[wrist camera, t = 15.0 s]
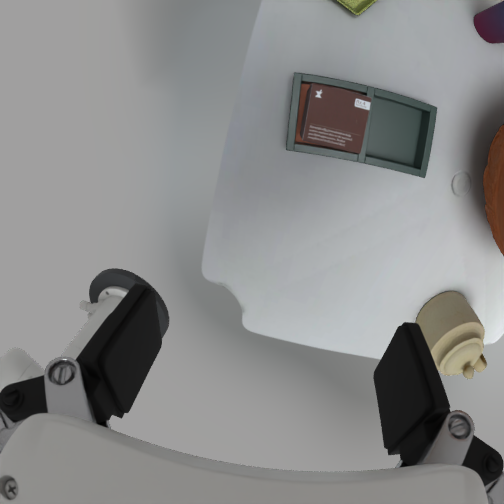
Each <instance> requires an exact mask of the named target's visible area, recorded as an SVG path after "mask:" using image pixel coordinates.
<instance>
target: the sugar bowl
mask: <svg viewBox="0 0 504 504" xmlns="http://www.w3.org/2000/svg"><path fill="white" fill-rule="evenodd" d="M416 323H418V324H419V326H420V328H421V330H422V333H423V335H424V337H425V340H426V342H427V344H428V347H429V349H430V352H431V354H432V357H433V359H434V362H435V365H436V367H437V370H440V372H441V373H442V374H444V375H458V374H461V373H463V375H464V377H465V378H467V379H471V378H472V377H473V374H474V369H475V370H476V371H477V372H482V371H483V370H484V369H485V368H486V366H487V363H486V360H485V358H484V356H483V354H482V351H483V348H484V344H483V339H484V334H485V331H484V327H483V325H482V324H481V322H480V320H479V319H478V317H477V315H476V314H475V312H474V310H473V309H472V308H471V306H470V305H469V303H468V302H467V300H466V299H465V298H464V296H463V295H462V294H460V293H458V292H455V291H449V292H444V293H441V294H439V295H437V296H435V297H434V298H432V299H431V300H430V301H429V302H428V303H427V304H426V305H425V306H424V307H423V308H422V309H421V311H420V313H419V315H418V317H417V320H416ZM473 367H474V368H473Z"/></svg>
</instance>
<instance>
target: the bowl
mask: <svg viewBox="0 0 504 504" xmlns="http://www.w3.org/2000/svg"><path fill="white" fill-rule="evenodd" d="M483 186H484V195H485V200H486V204H485V211H486V214H487V219H488V222H489V224H490V228H491V231H492V234H493V238H494V239H495V242H496V244H497V245H498V247H499V249H500V251H501V253H502V254H503V256H504V124H503V125H502V126H501V127H500V128H499V131H498V132H497V133H496V135H495V137H494V139H493V141H492V143H491V146H490V150H489V154H488V165H487V166H486V168H485V170H484V176H483Z"/></svg>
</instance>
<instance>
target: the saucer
mask: <svg viewBox="0 0 504 504" xmlns="http://www.w3.org/2000/svg"><path fill="white" fill-rule="evenodd" d="M337 1H338V2H340V3H341V4H342V5H344V6H345V7H346V8H348V9H349V10H350V11H351V12H353V13H354V14H355V15H360V14H361V13H362V12H363V11H365V10H366V9H367V8H368V7H370V6H371V5H372V4H373V3H374V2H376V1H377V0H337Z"/></svg>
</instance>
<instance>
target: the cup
mask: <svg viewBox="0 0 504 504" xmlns="http://www.w3.org/2000/svg"><path fill="white" fill-rule="evenodd" d="M474 25H475V28H476V30H477V32H478V33H479V35H480V36H481V37H482V38H483V39H484V40H485V41H487V42H489V43H504V1H502V2H500V3H498V4H496V5H494V6H492V7H490V8H488V9H486V10H484V11H482V12H480V13H479V14H477V15H475V17H474Z"/></svg>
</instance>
